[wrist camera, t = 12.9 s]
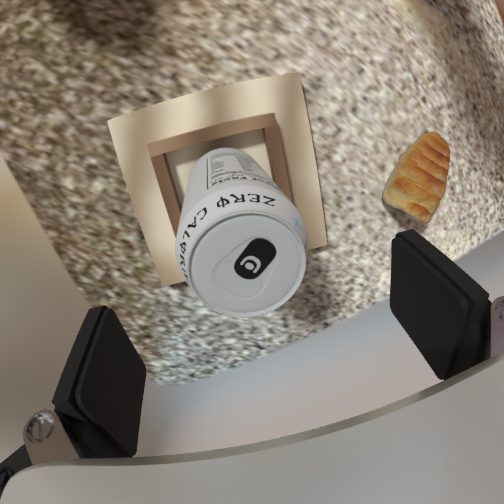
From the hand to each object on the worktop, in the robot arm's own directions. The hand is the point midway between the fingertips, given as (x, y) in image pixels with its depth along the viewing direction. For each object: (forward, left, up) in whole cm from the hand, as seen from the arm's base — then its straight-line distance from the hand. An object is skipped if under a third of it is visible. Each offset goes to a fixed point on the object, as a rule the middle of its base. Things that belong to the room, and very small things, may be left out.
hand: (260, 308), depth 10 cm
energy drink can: (0, 0, -18) cm, 18 cm away
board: (0, 0, -19) cm, 19 cm away
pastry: (-19, +4, -20) cm, 27 cm away
